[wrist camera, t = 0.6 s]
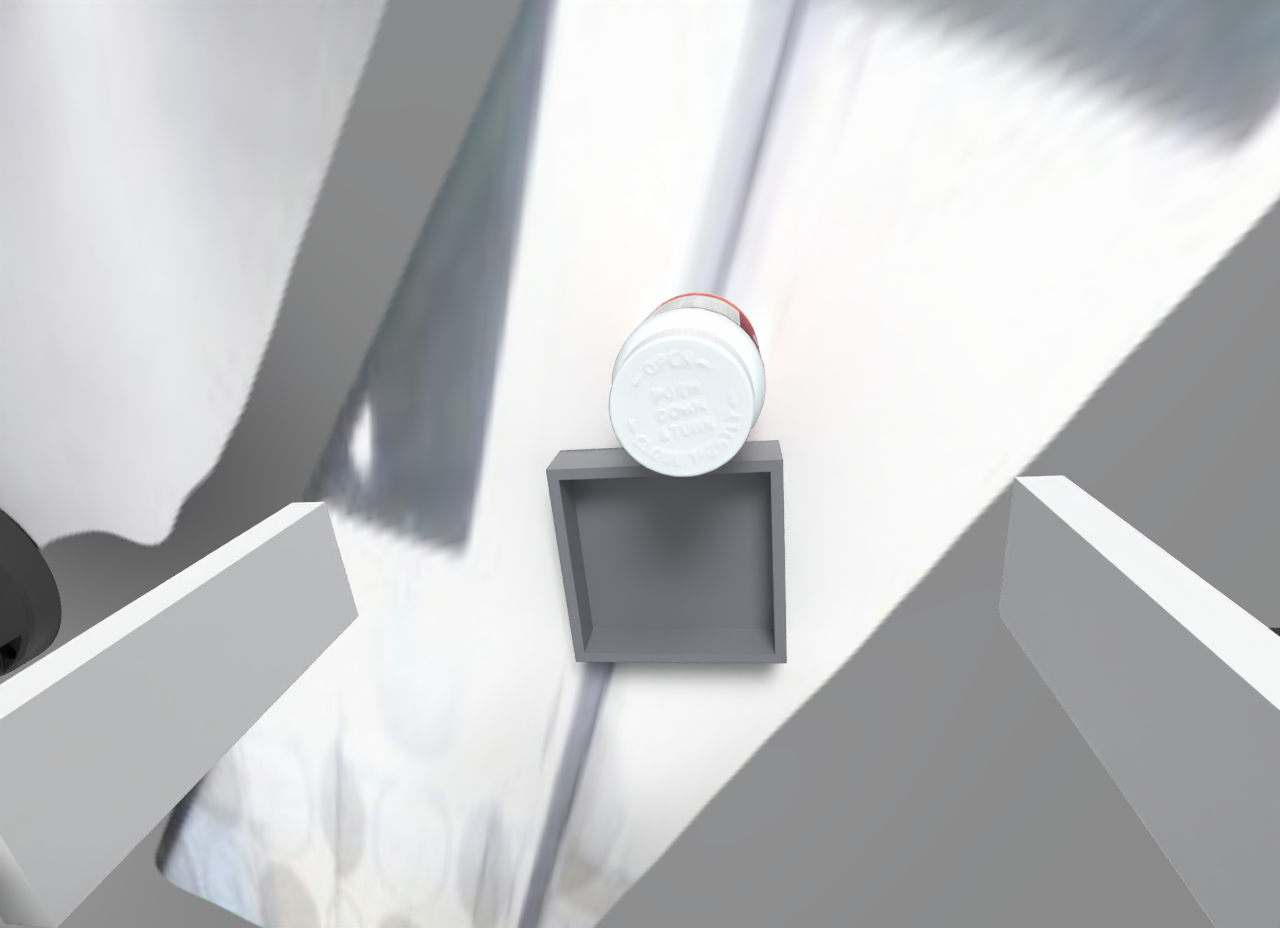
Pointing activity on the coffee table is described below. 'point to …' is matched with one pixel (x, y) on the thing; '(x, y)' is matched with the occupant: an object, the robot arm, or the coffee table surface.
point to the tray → (672, 557)
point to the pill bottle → (687, 386)
